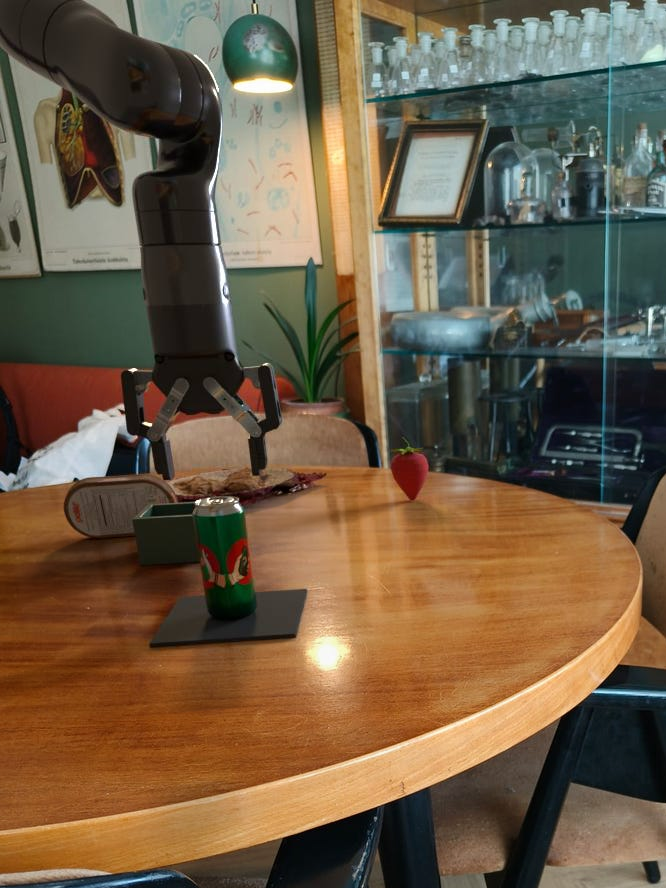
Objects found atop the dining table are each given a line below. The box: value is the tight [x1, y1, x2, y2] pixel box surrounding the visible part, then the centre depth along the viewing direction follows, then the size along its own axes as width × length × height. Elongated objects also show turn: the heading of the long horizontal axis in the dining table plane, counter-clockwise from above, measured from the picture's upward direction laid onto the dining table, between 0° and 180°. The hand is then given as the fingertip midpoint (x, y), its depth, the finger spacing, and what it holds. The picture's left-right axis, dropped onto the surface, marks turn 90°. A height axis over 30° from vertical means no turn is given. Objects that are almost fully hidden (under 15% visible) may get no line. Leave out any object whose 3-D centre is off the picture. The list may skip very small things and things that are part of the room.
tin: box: [63, 473, 178, 539], centre depth 124 cm, size 15×3×8 cm, turn 102°
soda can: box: [192, 496, 257, 620], centre depth 90 cm, size 5×5×12 cm
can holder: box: [132, 501, 200, 566], centre depth 114 cm, size 8×8×6 cm
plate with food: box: [167, 466, 327, 507], centre depth 149 cm, size 24×26×4 cm
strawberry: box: [389, 436, 429, 502], centre depth 138 cm, size 6×8×10 cm
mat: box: [148, 588, 308, 648], centre depth 92 cm, size 14×14×1 cm
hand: (213, 476), depth 87 cm, fingers open, 8 cm apart
